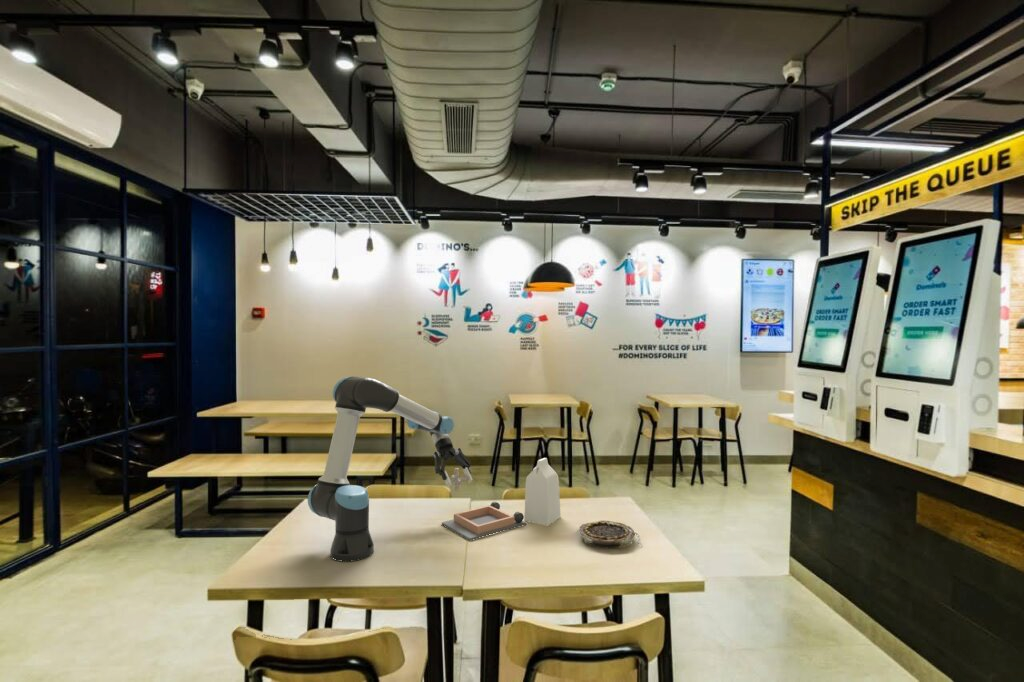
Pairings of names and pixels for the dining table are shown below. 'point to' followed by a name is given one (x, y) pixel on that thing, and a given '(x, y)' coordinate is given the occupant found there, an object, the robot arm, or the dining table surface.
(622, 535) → the pie
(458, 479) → the pipe connector
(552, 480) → the milk
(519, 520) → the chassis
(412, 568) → the dining table surface
